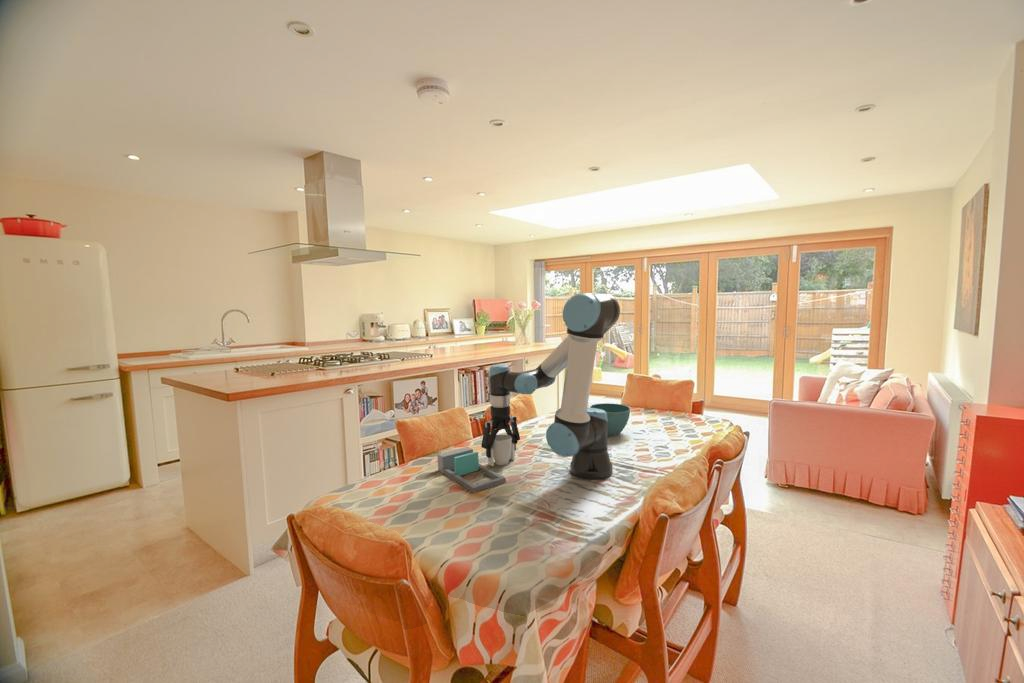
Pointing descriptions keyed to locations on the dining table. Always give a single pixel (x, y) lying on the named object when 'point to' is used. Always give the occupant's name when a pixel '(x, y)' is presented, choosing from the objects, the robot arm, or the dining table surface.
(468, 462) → the block
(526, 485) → the dining table surface
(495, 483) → the tray
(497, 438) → the cup
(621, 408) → the teal bowl
